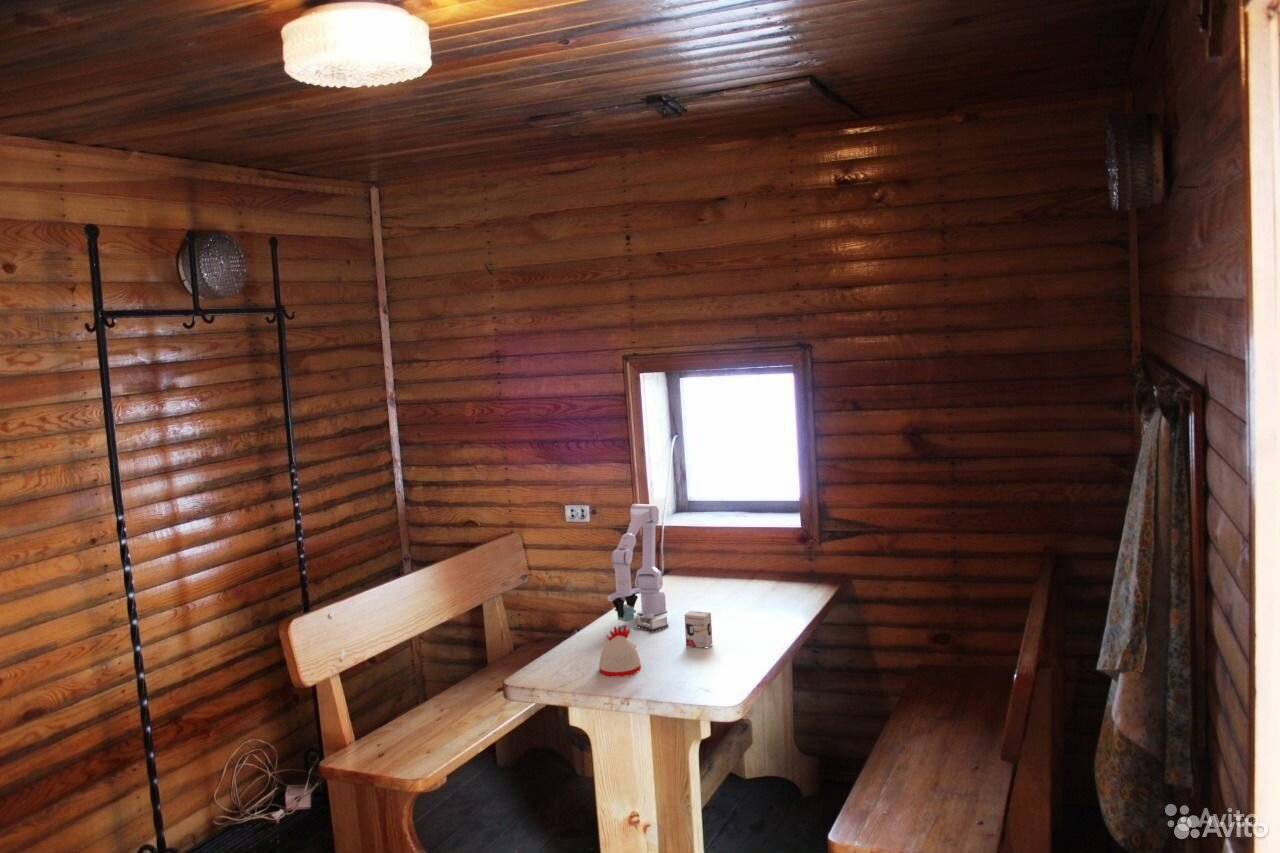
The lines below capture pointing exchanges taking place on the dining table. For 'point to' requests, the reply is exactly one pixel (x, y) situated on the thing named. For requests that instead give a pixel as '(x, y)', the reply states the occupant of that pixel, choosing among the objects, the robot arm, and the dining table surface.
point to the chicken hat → (619, 655)
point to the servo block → (627, 613)
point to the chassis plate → (652, 622)
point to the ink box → (698, 629)
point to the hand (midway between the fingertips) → (625, 615)
